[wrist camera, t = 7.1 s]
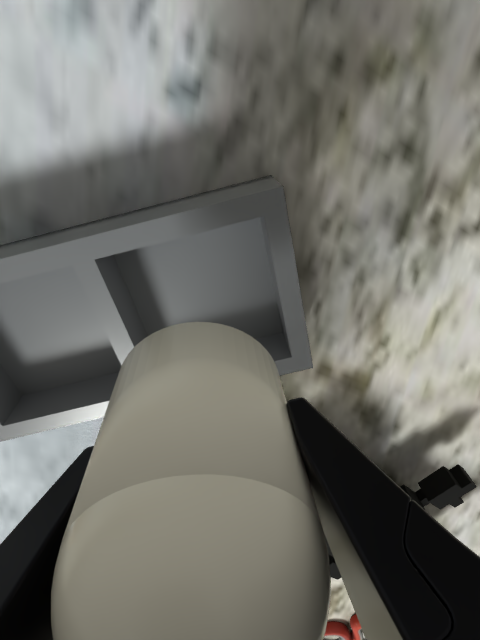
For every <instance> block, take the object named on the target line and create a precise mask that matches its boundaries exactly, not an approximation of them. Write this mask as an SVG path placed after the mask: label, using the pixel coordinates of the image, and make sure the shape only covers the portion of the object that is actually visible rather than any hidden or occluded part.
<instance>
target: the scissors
mask: <svg viewBox="0 0 480 640" xmlns="http://www.w3.org/2000/svg"><path fill="white" fill-rule="evenodd" d="M350 625H351V628H352V632H349V630H348V628H347V626H346V625H345V624H343V623H340V622H335V621H330V622H327V626H326V632H325V635H324V637H325V636H339V638H338V639H337V640H363V635H362V630H361V629H362V628H361V625H360V623H359V620H358V618H357V615H356V614H354V615H353V616H352V617H351V619H350Z"/></svg>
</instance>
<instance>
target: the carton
mask: <svg viewBox="0 0 480 640" xmlns="http://www.w3.org/2000/svg"><path fill="white" fill-rule="evenodd" d="M187 322H212V323H218V324H223V325H227V326H230V327H233V328H236V329H238V330H240V331H243V332H245V333H246V334H248V335H250V336H251V337H253V338H254V339H255V340H257V341H258V342H259V343H260V344H261V345H262V346H263V347H264V348H265V349H266V350H267V351H268V352H269V354H270V355H271V357H272V358H273V360H274V362H275V364H276V367H277V370H278V373H279V376H280V375H284V374H288V373H293V372H297V371H301V370H305V369H310V368H313V364H312V358H311V352H310V346H309V340H308V334H307V328H306V322H305V316H304V310H303V304H302V298H301V291H300V285H299V279H298V273H297V267H296V261H295V255H294V249H293V243H292V237H291V231H290V225H289V219H288V213H287V207H286V201H285V195H284V189H283V186H282V185H281V184H280V183H279V182H278V181H277V180H276V179H275V178H274V177H272V176H271V175H270V176H267V177H263V178H259V179H255V180H251V181H247V182H244V183H240V184H236V185H232V186H228V187H224V188H220V189H217V190H213V191H209V192H205V193H201V194H197V195H194V196H190V197H186V198H182V199H178V200H174V201H170V202H167V203H163V204H159V205H155V206H151V207H147V208H144V209H140V210H136V211H132V212H128V213H124V214H120V215H117V216H113V217H109V218H105V219H101V220H97V221H94V222H90V223H86V224H82V225H78V226H74V227H70V228H67V229H63V230H59V231H55V232H51V233H47V234H43V235H40V236H36V237H32V238H28V239H24V240H20V241H17V242H13V243H9V244H5V245H1V246H0V442H1V441H5V440H9V439H14V438H18V437H22V436H26V435H31V434H35V433H39V432H43V431H48V430H52V429H56V428H60V427H64V426H69V425H73V424H77V423H81V422H86V421H90V420H94V419H98V418H102V417H104V415H105V412H106V409H107V406H108V403H109V401H110V398H111V395H112V392H113V389H114V386H115V383H116V380H117V377H118V374H119V371H120V368H121V366H122V364H123V362H124V360H125V358H126V357H127V355H128V354H129V352H130V351H131V350H132V349H133V348H134V347H135V346H136V345H137V344H138V343H139V342H141V341H142V340H143V339H144V338H146V337H148V336H149V335H151V334H152V333H154V332H156V331H159V330H161V329H163V328H166V327H169V326H172V325H176V324H182V323H187Z"/></svg>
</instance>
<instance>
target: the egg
mask: <svg viewBox="0 0 480 640" xmlns="http://www.w3.org/2000/svg"><path fill="white" fill-rule="evenodd" d="M330 594H331V576H330V565H329V554H328V548H327V544H326V539H325V535H324V531H323V527H322V524H321V520H320V517H319V513H318V510H317V506H316V503H315V499H314V496H313V492H312V489H311V485H310V482H309V478H308V475H307V472H306V468H305V465H304V462H303V459H302V456H301V453H300V450H299V446H298V443H297V440H296V436H295V432H294V429H293V425H292V422H291V418H290V415H289V411H288V408H287V401H286V398H285V394H284V391H283V387H282V384H281V380H280V377H279V373H278V370H277V367H276V364H275V362H274V360H273V358H272V357H271V355H270V354H269V352H268V351H267V350H266V349H265V348H264V347H263V346H262V345H261V344H260V343H259V342H258V341H257V340H255V339H254V338H253V337H251V336H250V335H248V334H246V333H245V332H243V331H240V330H238V329H236V328H233V327H230V326H227V325H223V324H218V323H212V322H187V323H182V324H176V325H172V326H169V327H166V328H163V329H161V330H159V331H156V332H154V333H152V334H151V335H149V336H148V337H146V338H144V339H143V340H142V341H141V342H139V343H138V344H137V345H136V346H135V347H134V348H133V349H132V350H131V351H130V352H129V354H128V355H127V357H126V358H125V360H124V362H123V364H122V366H121V368H120V371H119V374H118V377H117V380H116V383H115V386H114V389H113V392H112V395H111V398H110V401H109V403H108V406H107V409H106V412H105V415H104V418H103V421H102V424H101V427H100V430H99V433H98V436H97V439H96V442H95V445H94V448H93V451H92V454H91V457H90V460H89V462H88V465H87V468H86V471H85V474H84V477H83V480H82V483H81V486H80V489H79V492H78V495H77V498H76V501H75V504H74V507H73V510H72V513H71V516H70V519H69V521H68V524H67V527H66V530H65V533H64V536H63V539H62V543H61V546H60V550H59V554H58V557H57V561H56V565H55V569H54V575H53V582H52V590H51V628H52V635H53V640H323V639H324V635H325V632H326V626H327V620H328V614H329V607H330Z"/></svg>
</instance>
